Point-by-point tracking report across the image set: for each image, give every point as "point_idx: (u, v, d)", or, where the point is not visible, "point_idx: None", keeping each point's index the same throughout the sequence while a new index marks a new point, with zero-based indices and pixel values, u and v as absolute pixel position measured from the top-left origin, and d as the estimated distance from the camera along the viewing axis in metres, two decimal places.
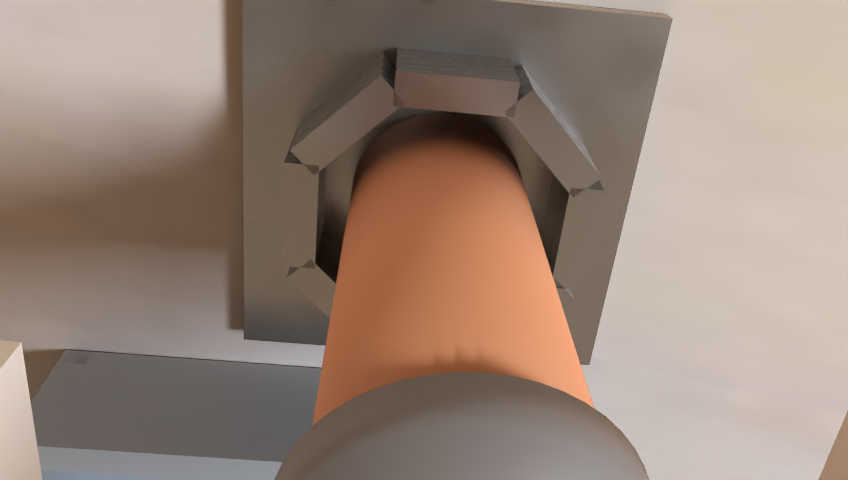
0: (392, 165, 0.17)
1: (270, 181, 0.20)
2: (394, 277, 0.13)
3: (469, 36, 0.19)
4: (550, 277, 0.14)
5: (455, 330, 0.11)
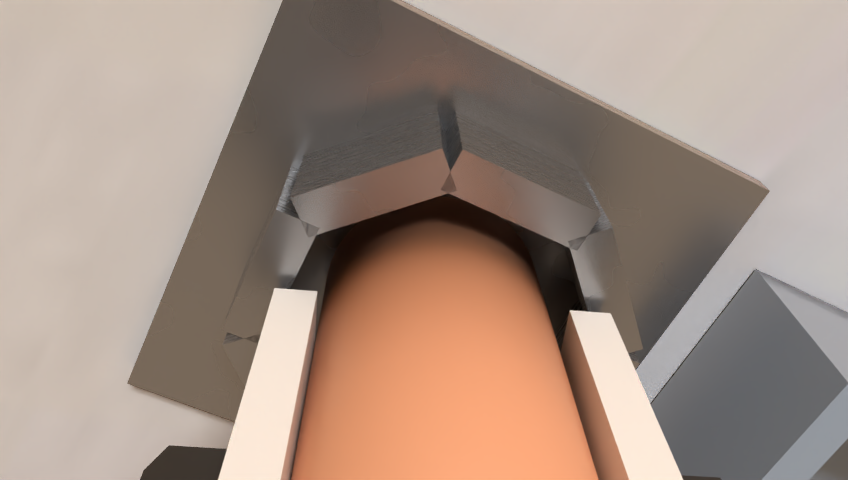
0: None
1: None
2: None
3: (250, 201, 0.16)
4: (417, 395, 0.10)
5: None
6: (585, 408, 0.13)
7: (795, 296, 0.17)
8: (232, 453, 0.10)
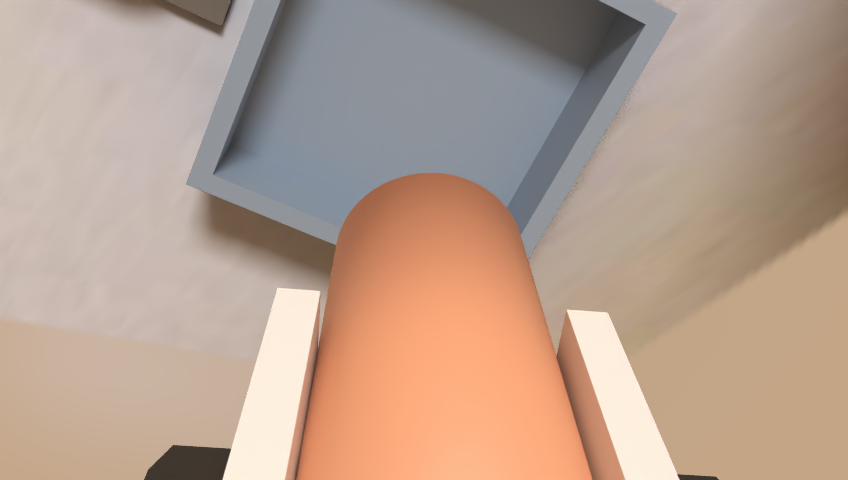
0: None
1: None
2: None
3: None
4: (414, 328, 0.12)
5: None
6: (581, 408, 0.13)
7: None
8: (237, 452, 0.10)
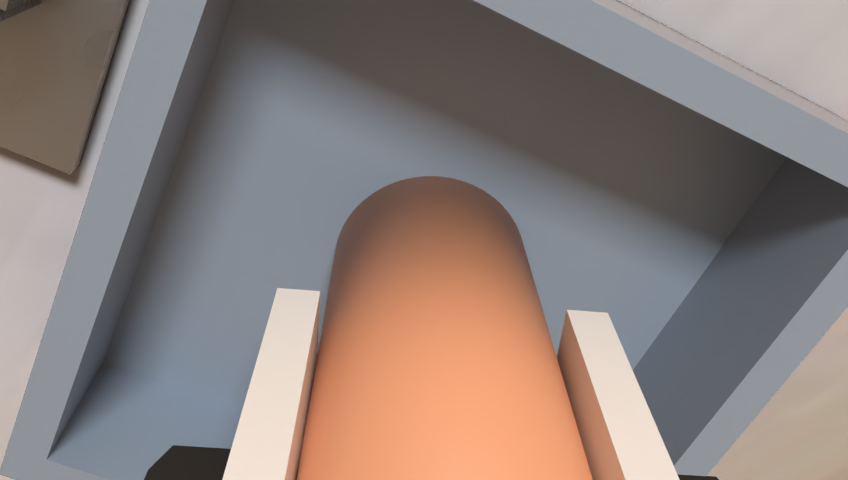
0: None
1: None
2: None
3: None
4: (415, 335, 0.12)
5: None
6: (582, 408, 0.13)
7: None
8: (236, 452, 0.10)
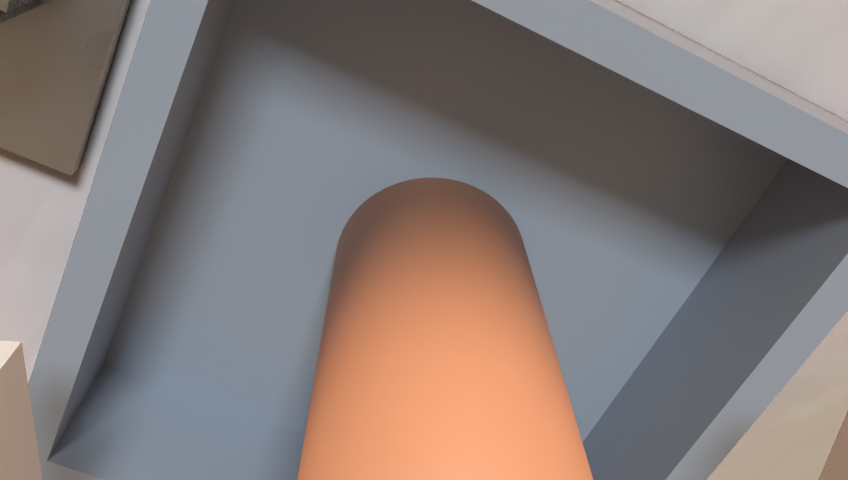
0: None
1: None
2: None
3: None
4: (416, 337, 0.12)
5: None
6: None
7: None
8: None
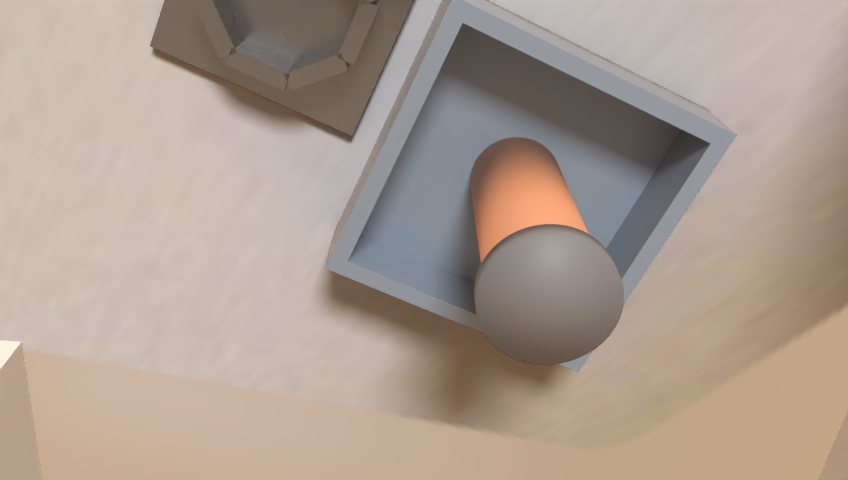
0: None
1: (259, 79, 0.37)
2: None
3: None
4: (522, 185, 0.32)
5: (486, 253, 0.30)
6: None
7: None
8: None
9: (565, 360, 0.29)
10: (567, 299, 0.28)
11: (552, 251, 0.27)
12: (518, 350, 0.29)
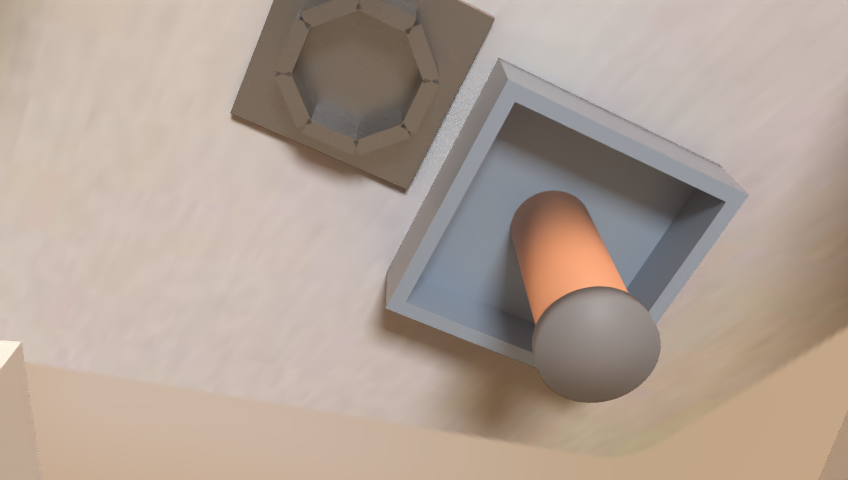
0: (517, 255, 0.41)
1: None
2: (530, 303, 0.37)
3: (284, 25, 0.38)
4: (567, 243, 0.37)
5: (540, 306, 0.35)
6: None
7: (513, 67, 0.40)
8: None
9: (608, 398, 0.34)
10: (612, 349, 0.33)
11: (601, 311, 0.32)
12: (569, 391, 0.34)
